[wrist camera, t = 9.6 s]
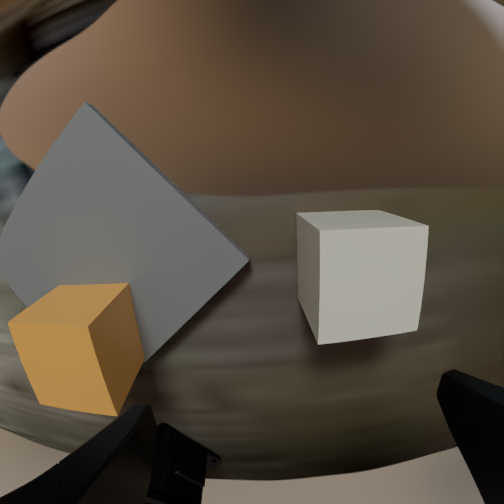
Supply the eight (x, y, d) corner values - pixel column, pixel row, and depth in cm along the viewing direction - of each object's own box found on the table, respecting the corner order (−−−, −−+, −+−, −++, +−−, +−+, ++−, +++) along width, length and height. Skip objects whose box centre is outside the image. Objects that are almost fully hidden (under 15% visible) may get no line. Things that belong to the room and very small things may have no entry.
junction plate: (121, 380, 21) (100, 419, 17) (-3, 256, 19) (-40, 274, 14) (248, 255, 19) (250, 280, 15) (93, 105, 17) (55, 90, 12)
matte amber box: (144, 358, 20) (117, 416, 14) (78, 355, 20) (40, 404, 14) (128, 282, 18) (87, 326, 12) (59, 285, 18) (7, 322, 12)
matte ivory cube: (375, 290, 20) (417, 330, 14) (297, 297, 20) (318, 344, 14) (378, 210, 19) (428, 225, 13) (296, 213, 19) (319, 230, 13)
